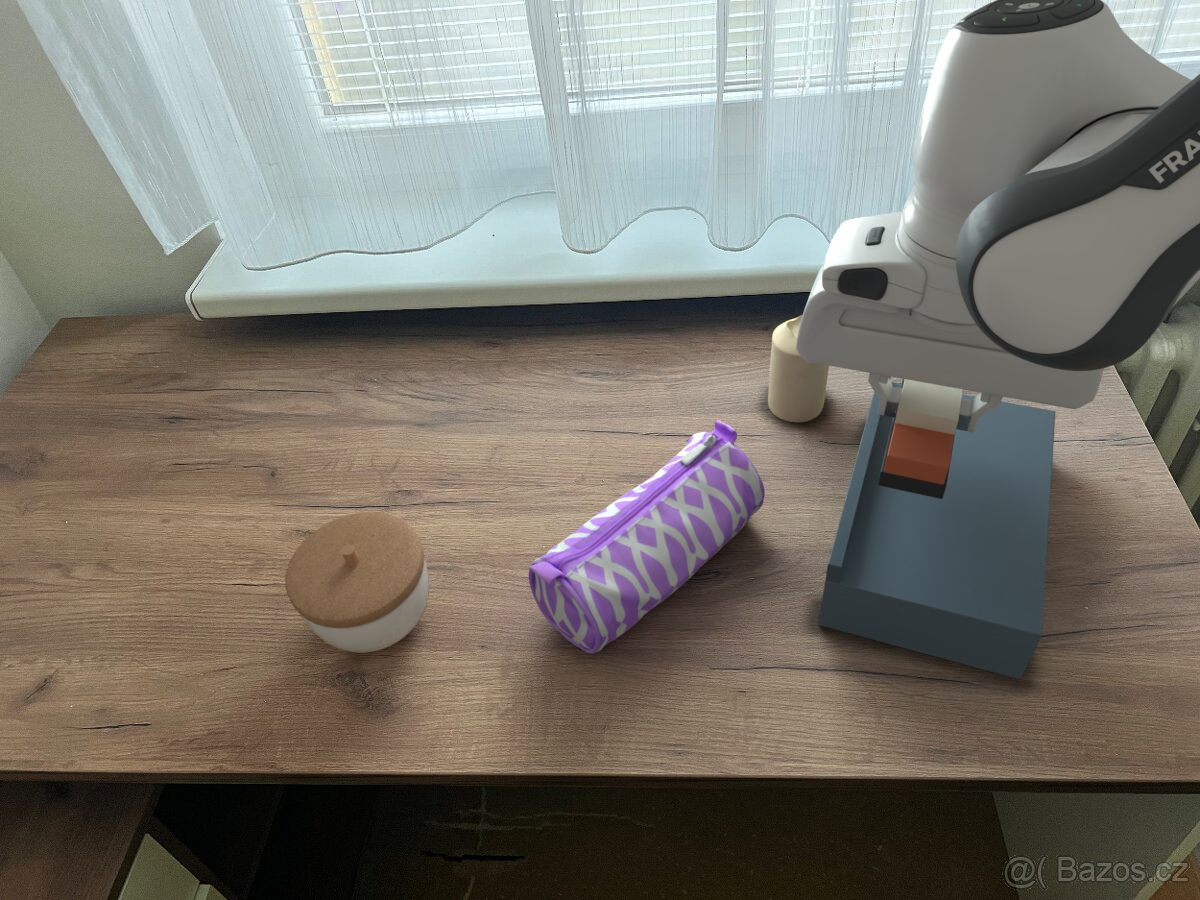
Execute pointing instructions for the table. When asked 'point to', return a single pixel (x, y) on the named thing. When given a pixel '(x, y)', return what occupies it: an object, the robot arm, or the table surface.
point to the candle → (794, 378)
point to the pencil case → (647, 541)
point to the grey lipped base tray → (950, 546)
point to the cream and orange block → (922, 439)
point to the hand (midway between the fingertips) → (925, 418)
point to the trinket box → (360, 581)
